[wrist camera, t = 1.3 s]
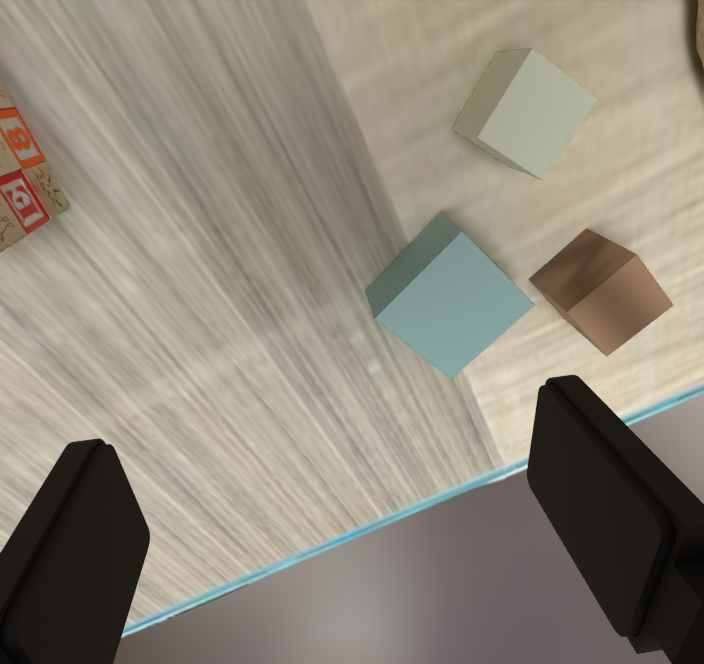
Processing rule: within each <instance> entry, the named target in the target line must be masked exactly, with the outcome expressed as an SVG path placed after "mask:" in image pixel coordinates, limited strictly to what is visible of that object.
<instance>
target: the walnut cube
mask: <svg viewBox="0 0 704 664" xmlns="http://www.w3.org/2000/svg"><path fill="white" fill-rule="evenodd" d="M529 280H530V281H531V282H532V283H533V284H534V286H535V287H536V288H537V289H538V290H539V291H540V292H541V293H542V294H543V296H544V297H545V298H546V299H547V300H548V301H549V302H550V303H551V304H552V306H553V307H554V308H555V309H556V310H557V311H558V312H559V313H560V314H561V316H562V317H563V318H564V319H565V320H566V321H567V322H568V323H570V324H571V325H572V326H573V327H574V328H575V329H576V330H577V331H579V332H580V333H581V334H582V335H583V336H584V337H585V338H586V339H588V340H589V341H590V342H591V343H592V344H593V345H594V346H595V347H596V348H598V349H599V350H600V351H601V352H602V353H603V354H604V355H605V356H608V355H610V354H611V353H612V352H614V351H615V350H616V349H618V348H619V347H620V346H621V345H623V344H624V343H625V342H627V341H628V340H629V339H631V338H632V337H633V336H634V335H636V334H637V333H638V332H640V331H641V330H642V329H643V328H645V327H646V326H647V325H649V324H650V323H651V322H653V321H654V320H655V319H656V318H658V317H659V316H660V315H662V314H663V313H664V312H666V311H667V310H668V309H669V308H671V307H672V306H673V304H672V302H671V301H670V299H669V298H668V297H667V295H666V294H665V293H664V291H663V290H662V288H661V287H660V286H659V284H658V283H657V281H656V280H655V279H654V277H653V276H652V275H651V273H650V272H649V270H648V269H647V268H646V266H645V265H644V264H643V262H642V261H641V259H640V258H639V257H638V255H637V254H635V253H633V252H631V251H629V250H627V249H625V248H623V247H621V246H619V245H617V244H615V243H614V242H612V241H610V240H608V239H606V238H604V237H602V236H600V235H598V234H596V233H594V232H592V231H590V230H588V229H587V228H586V229H585V230H584V231H583V232H582V233H581V234H580V235H578V236H577V237H576V238H575V239H574V240H573V241H572V242H570V243H569V244H568V245H567V246H566V247H565V248H564V249H562V250H561V251H560V252H559V253H558V254H557V255H556V256H554V257H553V258H552V259H551V260H550V261H549V262H548V263H546V264H545V265H544V266H543V267H542V268H541V269H540V270H538V271H537V272H536V273H535V274H534V275H533V276H532V277H530V278H529Z"/></svg>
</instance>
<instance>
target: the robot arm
mask: <svg viewBox="0 0 704 664" xmlns="http://www.w3.org/2000/svg"><path fill="white" fill-rule="evenodd" d="M527 479H528V483H529V486H530V488H531V490H532V492H533V493H534V495H535V497H536V498H537V500H538V502H539V503H540V505H541V507H542V508H543V510H544V512H545V513H546V515H547V517H548V519H549V520H550V522H551V524H552V525H553V527H554V529H555V530H556V532H557V534H558V535H559V537H560V539H561V541H562V542H563V544H564V546H565V547H566V549H567V551H568V552H569V554H570V556H571V557H572V559H573V561H574V562H575V564H576V566H577V568H578V569H579V571H580V573H581V574H582V576H583V578H584V579H585V581H586V583H587V584H588V586H589V588H590V589H591V591H592V593H593V594H594V596H595V598H596V600H597V601H598V603H599V605H600V606H601V608H602V610H603V611H604V613H605V615H606V616H607V618H608V620H609V622H610V623H611V625H612V627H613V628H614V630H615V631H616V632H617V633H618V634H619V635H620V636H622V637H625V636H627V638H628V640H629V641H630V643H631V645H632V646H633V648H634V650H635V651H636V653H637V654H640V653H646V652H652V651H657V650H663V651H664V653H665V654H666V656H667V657H668V659H669V660H670V662H671V663H672V664H704V504H703V503H702V502H701V501H700V500H699V499H698V498H697V497H696V496H695V495H694V494H693V493H692V492H691V491H690V490H689V489H688V488H687V487H686V486H685V485H684V484H683V483H682V482H681V481H680V480H679V479H678V478H677V477H676V476H675V474H673V473H672V471H671V470H670V469H669V468H668V467H667V466H666V465H665V464H664V463H663V462H662V461H661V460H660V459H659V458H658V457H657V456H656V455H655V454H654V453H653V452H652V451H651V450H650V449H649V448H648V447H647V446H646V445H645V444H644V443H643V442H642V441H641V440H640V439H639V438H638V437H637V436H636V435H635V434H634V433H633V432H632V431H631V430H630V429H629V428H628V427H627V426H626V424H625V423H624V422H623V421H622V420H621V419H620V418H619V417H618V416H617V415H616V414H615V413H614V412H613V411H612V410H611V409H610V408H609V407H608V406H607V405H606V404H605V403H604V402H603V401H602V400H601V399H600V398H599V397H598V396H597V395H596V394H595V393H594V392H593V391H592V390H591V389H590V388H589V387H588V386H587V385H586V384H585V383H584V382H583V381H582V380H581V379H580V378H579V377H578V376H577V375H568V376H560V377H553V378H549V379H548V380H547V381H546V384H545V385H543V386H541V387H540V388H539V392H538V399H537V406H536V413H535V420H534V427H533V434H532V441H531V447H530V454H529V461H528V468H527ZM149 542H150V533H149V528H148V526H147V523H146V521H145V519H144V516H143V514H142V512H141V509H140V507H139V505H138V502H137V500H136V498H135V495H134V493H133V491H132V488H131V486H130V484H129V481H128V479H127V477H126V474H125V472H124V470H123V467H122V465H121V463H120V460H119V458H118V456H117V453H116V451H115V449H114V447H113V446H112V445H111V444H107V445H106V444H105V442H104V441H103V440H102V439H92V440H85V441H77V442H71V443H69V444H68V445H67V446H66V447H65V449H64V451H63V452H62V454H61V456H60V457H59V459H58V460H57V462H56V464H55V465H54V467H53V469H52V470H51V472H50V473H49V475H48V477H47V478H46V480H45V482H44V483H43V485H42V486H41V488H40V490H39V491H38V493H37V494H36V496H35V498H34V499H33V501H32V503H31V504H30V506H29V507H28V509H27V511H26V512H25V514H24V516H23V517H22V519H21V520H20V522H19V524H18V525H17V527H16V529H15V530H14V532H13V533H12V535H11V537H10V538H9V540H8V542H7V543H6V545H5V546H4V548H3V550H2V551H1V553H0V664H113V662H114V659H115V655H116V652H117V648H118V646H119V642H120V639H121V636H122V632H123V629H124V626H125V623H126V619H127V616H128V613H129V610H130V606H131V603H132V600H133V596H134V593H135V590H136V587H137V583H138V580H139V577H140V573H141V570H142V567H143V564H144V560H145V557H146V554H147V551H148V547H149Z"/></svg>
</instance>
